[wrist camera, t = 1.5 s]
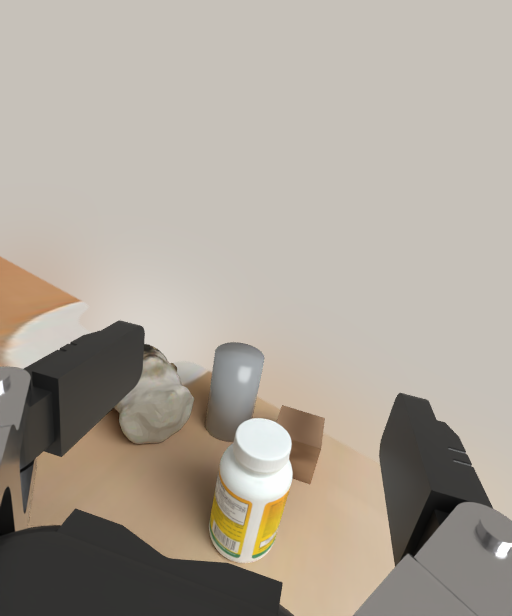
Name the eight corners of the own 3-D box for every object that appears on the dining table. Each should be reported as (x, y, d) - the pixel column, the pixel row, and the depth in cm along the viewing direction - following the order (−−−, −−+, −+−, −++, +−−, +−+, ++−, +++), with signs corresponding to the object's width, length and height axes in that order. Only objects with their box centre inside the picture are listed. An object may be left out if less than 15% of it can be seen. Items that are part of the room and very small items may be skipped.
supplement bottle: (206, 565, 25) (223, 465, 22) (210, 498, 30) (224, 408, 27) (279, 567, 26) (308, 470, 22) (271, 502, 31) (294, 414, 27)
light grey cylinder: (197, 432, 37) (207, 359, 34) (214, 405, 42) (224, 338, 38) (242, 447, 36) (257, 373, 33) (255, 417, 41) (269, 350, 37)
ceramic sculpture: (111, 393, 27) (69, 322, 38) (110, 480, 30) (72, 391, 41) (226, 366, 34) (163, 312, 45) (217, 440, 36) (159, 372, 47)
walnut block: (264, 469, 34) (273, 433, 32) (273, 438, 38) (281, 405, 37) (309, 485, 33) (321, 448, 32) (314, 451, 37) (324, 418, 36)
